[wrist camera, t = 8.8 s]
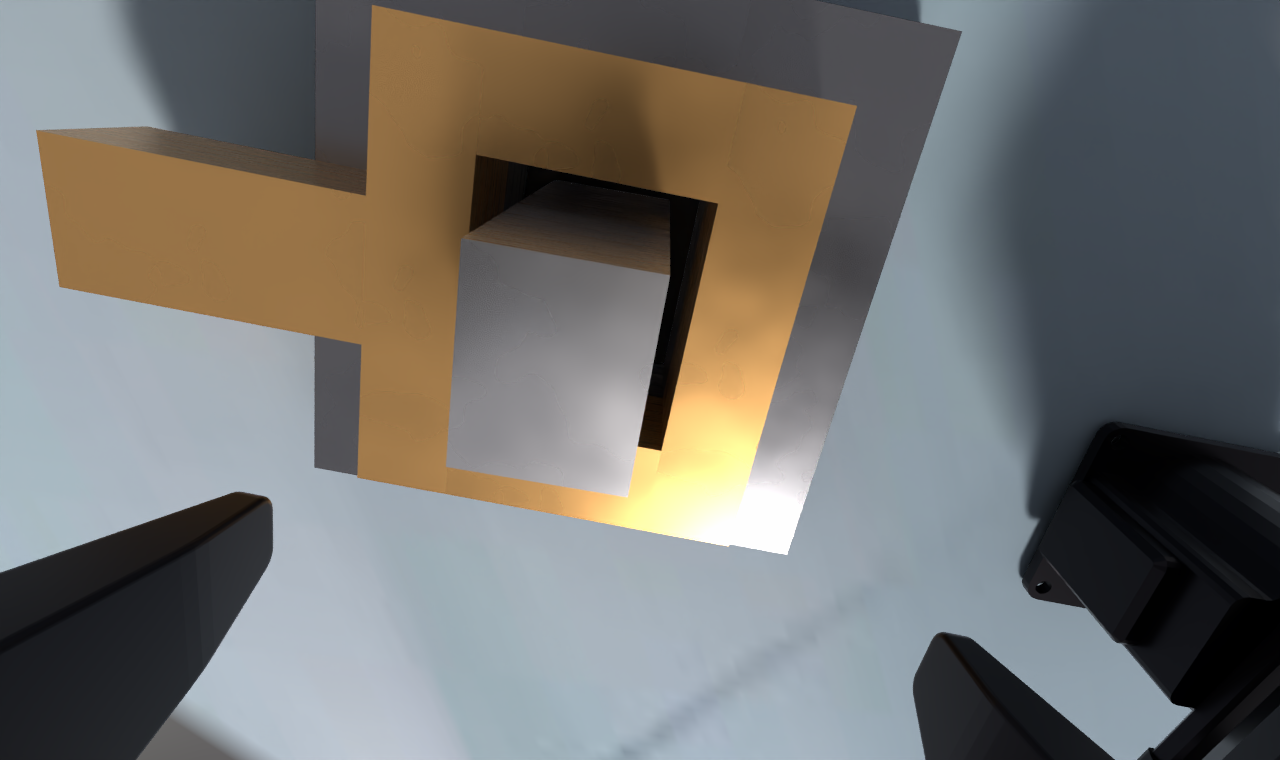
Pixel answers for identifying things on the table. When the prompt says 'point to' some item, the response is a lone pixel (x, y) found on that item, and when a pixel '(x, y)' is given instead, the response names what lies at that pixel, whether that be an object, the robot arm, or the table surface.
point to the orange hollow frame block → (495, 181)
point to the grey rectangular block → (558, 336)
